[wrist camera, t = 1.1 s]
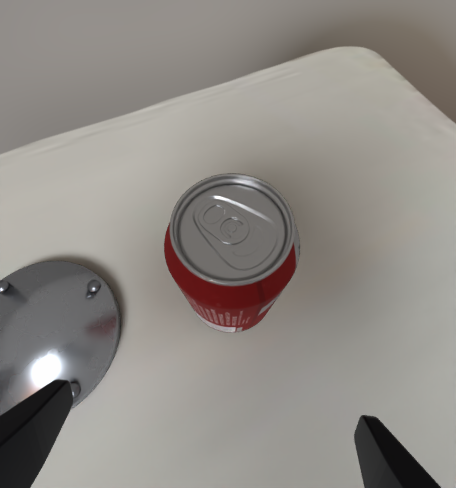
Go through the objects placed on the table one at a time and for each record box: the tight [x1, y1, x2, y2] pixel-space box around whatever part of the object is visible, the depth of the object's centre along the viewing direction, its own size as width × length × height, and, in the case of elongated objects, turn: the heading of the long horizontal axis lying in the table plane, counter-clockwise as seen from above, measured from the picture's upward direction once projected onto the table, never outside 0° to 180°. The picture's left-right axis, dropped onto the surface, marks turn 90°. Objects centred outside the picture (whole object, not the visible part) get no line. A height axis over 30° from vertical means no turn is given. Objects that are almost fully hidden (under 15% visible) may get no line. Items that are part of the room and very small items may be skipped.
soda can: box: [164, 173, 300, 332], centre depth 17 cm, size 7×7×12 cm
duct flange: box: [0, 261, 121, 415], centre depth 21 cm, size 12×12×1 cm
